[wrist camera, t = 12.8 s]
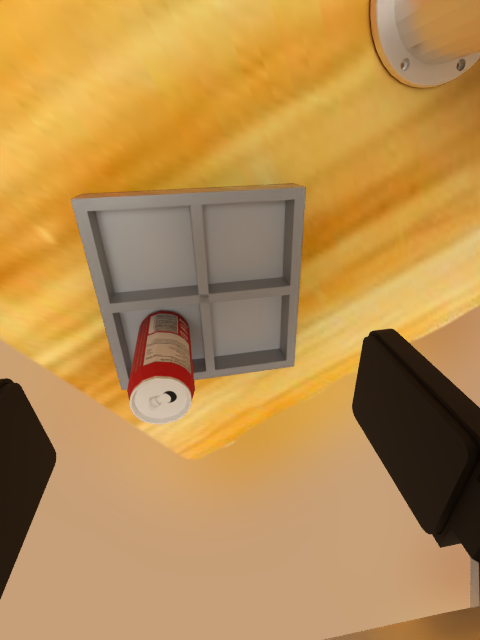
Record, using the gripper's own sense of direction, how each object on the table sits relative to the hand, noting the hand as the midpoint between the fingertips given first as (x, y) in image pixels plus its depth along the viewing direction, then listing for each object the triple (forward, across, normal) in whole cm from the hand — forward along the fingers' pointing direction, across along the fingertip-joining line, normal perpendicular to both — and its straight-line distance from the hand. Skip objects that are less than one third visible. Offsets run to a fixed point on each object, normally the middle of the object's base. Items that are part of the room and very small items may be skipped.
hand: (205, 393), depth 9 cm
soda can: (+25, +5, +12) cm, 28 cm away
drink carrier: (+26, 0, +8) cm, 27 cm away
